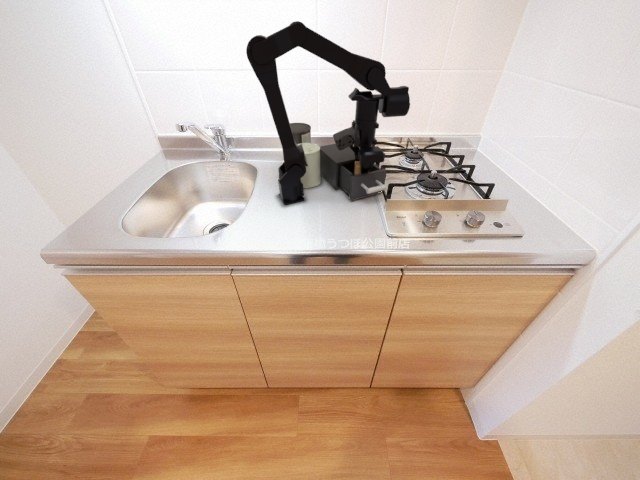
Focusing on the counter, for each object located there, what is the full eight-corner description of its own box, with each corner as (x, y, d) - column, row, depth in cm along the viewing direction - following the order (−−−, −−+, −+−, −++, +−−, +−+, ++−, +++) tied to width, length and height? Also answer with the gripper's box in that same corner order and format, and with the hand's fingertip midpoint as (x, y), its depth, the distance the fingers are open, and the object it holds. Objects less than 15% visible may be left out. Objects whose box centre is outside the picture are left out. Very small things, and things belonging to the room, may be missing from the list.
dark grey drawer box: (369, 181, 85) (372, 155, 79) (335, 189, 81) (336, 163, 75) (348, 165, 95) (350, 140, 89) (318, 171, 91) (317, 146, 85)
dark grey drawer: (392, 199, 74) (396, 177, 70) (359, 208, 71) (361, 185, 66) (361, 174, 87) (363, 153, 82) (331, 181, 84) (331, 160, 79)
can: (302, 190, 81) (299, 154, 73) (289, 179, 87) (285, 145, 79) (326, 183, 85) (326, 147, 77) (312, 172, 91) (310, 139, 83)
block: (368, 179, 75) (369, 166, 72) (354, 179, 75) (355, 167, 73) (366, 173, 78) (368, 161, 75) (353, 173, 78) (354, 161, 76)
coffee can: (290, 174, 90) (286, 133, 81) (281, 163, 97) (277, 125, 88) (316, 168, 93) (315, 128, 84) (306, 158, 101) (304, 121, 91)
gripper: (329, 110, 72) (329, 162, 82) (343, 131, 58) (341, 191, 68) (367, 108, 73) (362, 160, 83) (390, 128, 59) (380, 187, 69)
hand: (360, 173), depth 76 cm, fingers closed on block, 4 cm apart
